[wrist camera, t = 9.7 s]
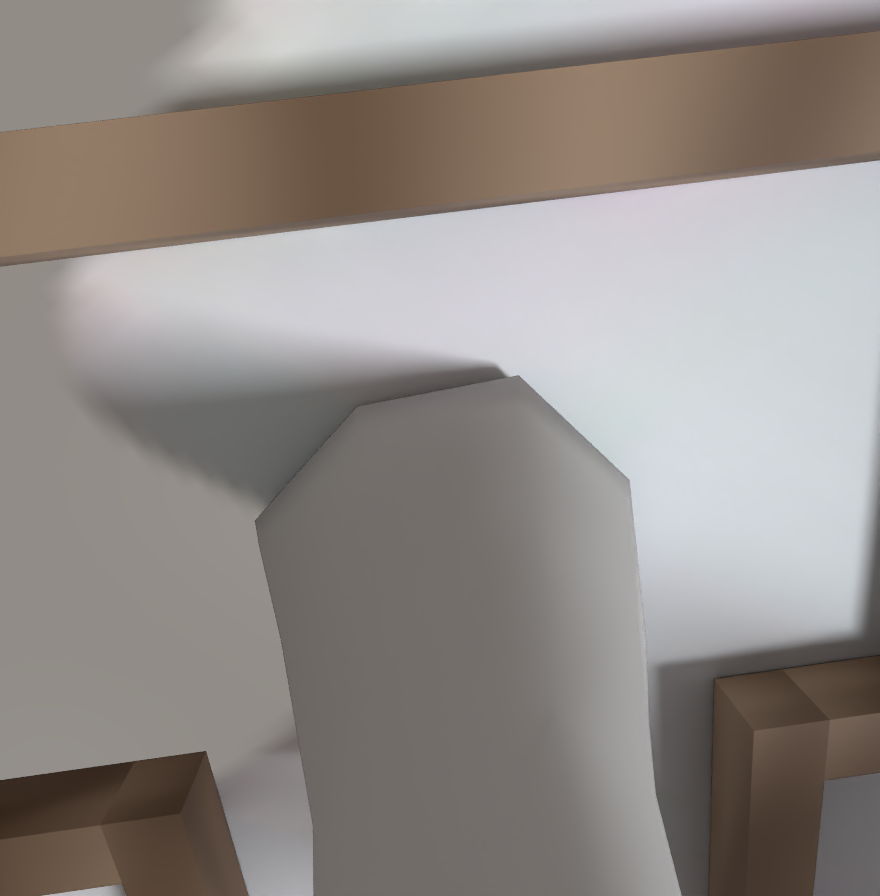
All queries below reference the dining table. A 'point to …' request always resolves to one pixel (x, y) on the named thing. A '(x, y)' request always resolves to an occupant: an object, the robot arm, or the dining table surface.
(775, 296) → the dining table surface
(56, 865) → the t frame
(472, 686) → the flask
